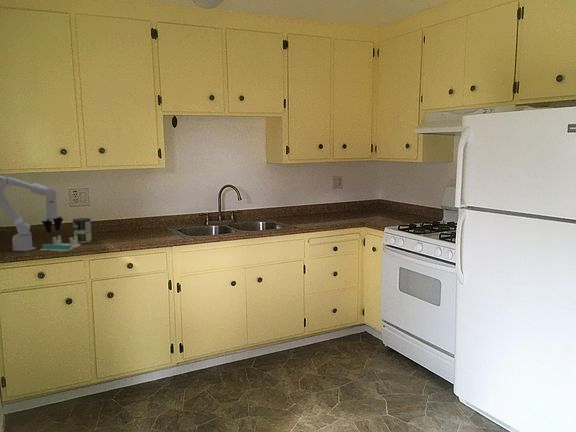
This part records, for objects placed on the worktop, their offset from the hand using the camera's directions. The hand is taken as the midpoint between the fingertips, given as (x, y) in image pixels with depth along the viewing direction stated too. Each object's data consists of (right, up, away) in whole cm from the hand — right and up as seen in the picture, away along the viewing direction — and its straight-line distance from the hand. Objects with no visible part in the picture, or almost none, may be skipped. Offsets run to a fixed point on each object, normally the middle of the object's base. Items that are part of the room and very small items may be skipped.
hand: (53, 231), depth 267 cm
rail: (+4, -9, -6) cm, 11 cm away
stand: (+6, -9, +3) cm, 11 cm away
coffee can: (+9, -7, +19) cm, 22 cm away
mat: (+4, -10, -5) cm, 12 cm away
